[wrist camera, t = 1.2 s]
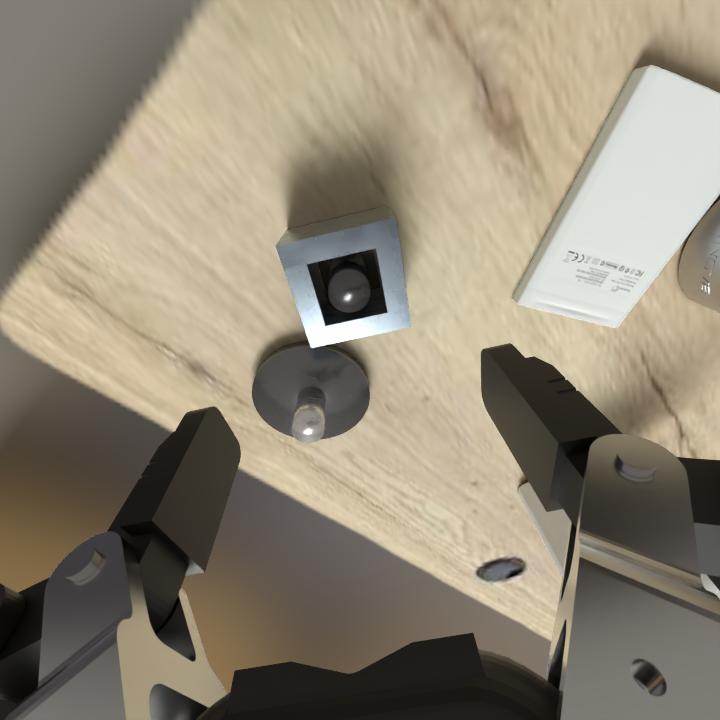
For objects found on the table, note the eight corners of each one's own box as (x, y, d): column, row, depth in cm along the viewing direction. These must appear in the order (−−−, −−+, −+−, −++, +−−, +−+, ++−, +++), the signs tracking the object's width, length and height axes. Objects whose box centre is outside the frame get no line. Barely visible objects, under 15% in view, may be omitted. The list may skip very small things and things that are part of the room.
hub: (355, 330, 23) (358, 364, 19) (377, 420, 28) (383, 462, 24) (236, 355, 24) (215, 394, 20) (278, 439, 28) (268, 483, 25)
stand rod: (360, 246, 20) (365, 268, 16) (368, 279, 21) (373, 307, 17) (326, 254, 20) (322, 277, 16) (335, 287, 21) (334, 316, 17)
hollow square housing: (386, 205, 19) (396, 217, 15) (400, 300, 22) (411, 326, 19) (287, 229, 19) (275, 245, 16) (315, 318, 22) (311, 348, 19)
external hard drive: (748, 121, 18) (604, 320, 24) (626, 70, 16) (507, 296, 23) (782, 118, 16) (620, 330, 23) (652, 62, 15) (518, 305, 21)
